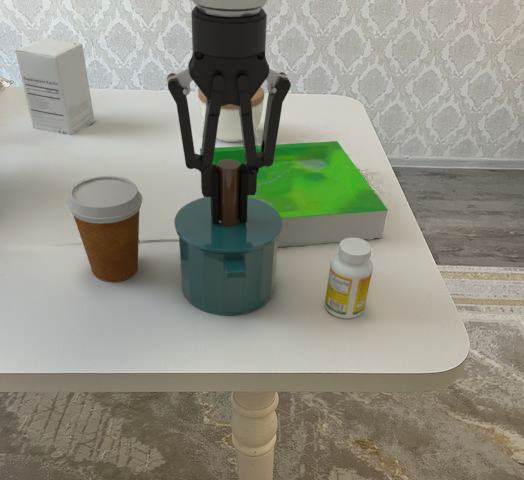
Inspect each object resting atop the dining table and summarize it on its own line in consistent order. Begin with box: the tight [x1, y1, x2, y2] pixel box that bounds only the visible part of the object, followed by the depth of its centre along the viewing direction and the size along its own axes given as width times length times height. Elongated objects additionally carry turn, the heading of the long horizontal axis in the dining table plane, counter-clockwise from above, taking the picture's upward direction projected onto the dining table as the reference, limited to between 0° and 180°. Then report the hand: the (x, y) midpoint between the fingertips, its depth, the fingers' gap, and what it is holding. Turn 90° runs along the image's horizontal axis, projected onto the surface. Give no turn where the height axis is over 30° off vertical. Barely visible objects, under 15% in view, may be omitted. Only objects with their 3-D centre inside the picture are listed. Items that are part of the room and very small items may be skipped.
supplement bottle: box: [324, 238, 374, 319], centre depth 76 cm, size 5×5×10 cm
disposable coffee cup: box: [66, 175, 143, 283], centre depth 79 cm, size 10×10×12 cm
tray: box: [199, 140, 389, 248], centre depth 97 cm, size 25×25×5 cm
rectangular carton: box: [15, 37, 95, 136], centre depth 114 cm, size 9×9×15 cm
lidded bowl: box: [197, 86, 265, 143], centre depth 115 cm, size 13×13×11 cm
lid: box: [173, 159, 282, 254], centre depth 72 cm, size 14×14×9 cm
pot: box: [178, 236, 279, 317], centre depth 78 cm, size 13×18×10 cm
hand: (228, 217), depth 74 cm, fingers closed on lid, 3 cm apart
